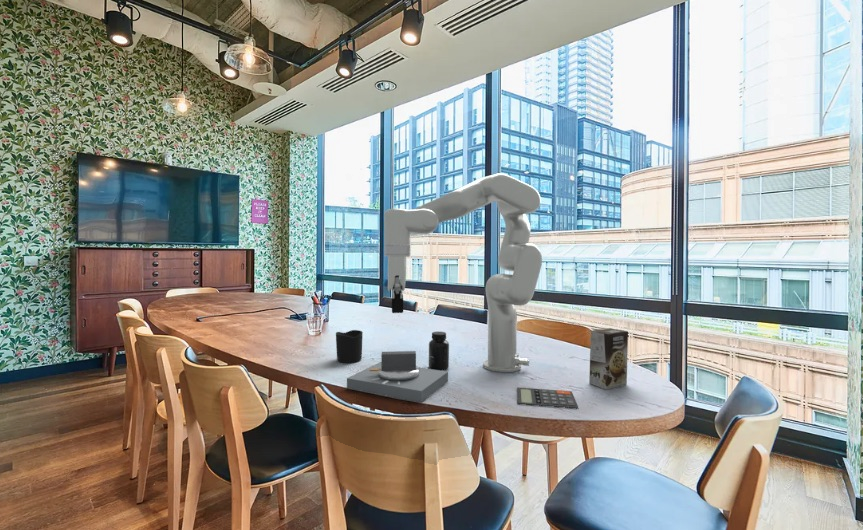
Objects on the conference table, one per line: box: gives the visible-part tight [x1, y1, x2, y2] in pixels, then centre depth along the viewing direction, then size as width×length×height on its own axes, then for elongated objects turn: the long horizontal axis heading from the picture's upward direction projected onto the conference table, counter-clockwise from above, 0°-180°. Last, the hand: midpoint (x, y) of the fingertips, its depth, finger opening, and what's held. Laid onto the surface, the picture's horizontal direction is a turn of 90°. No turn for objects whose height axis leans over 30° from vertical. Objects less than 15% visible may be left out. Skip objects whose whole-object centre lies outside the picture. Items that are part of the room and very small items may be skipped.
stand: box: [346, 361, 449, 403], centre depth 118 cm, size 24×18×3 cm
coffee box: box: [588, 327, 629, 390], centre depth 118 cm, size 9×6×16 cm
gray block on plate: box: [370, 350, 420, 381], centre depth 117 cm, size 14×12×6 cm
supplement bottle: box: [428, 331, 450, 371], centre depth 134 cm, size 7×7×12 cm
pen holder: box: [335, 329, 363, 364], centre depth 143 cm, size 9×9×10 cm
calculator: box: [516, 387, 579, 410], centre depth 108 cm, size 12×1×15 cm
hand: (397, 310), depth 117 cm, fingers open, 9 cm apart
